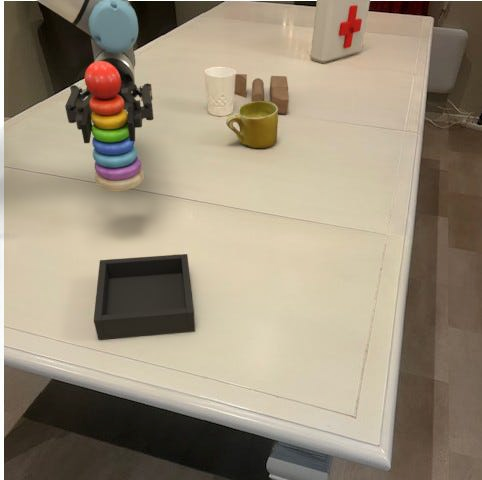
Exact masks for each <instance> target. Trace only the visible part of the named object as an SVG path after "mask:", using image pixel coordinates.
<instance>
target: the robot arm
mask: <svg viewBox="0 0 482 480" xmlns="http://www.w3.org/2000/svg"><path fill="white" fill-rule="evenodd" d="M36 1H37V2H38V3H39V4H41V5H43V6H45V7H46V8H47V9H49V10H51V11H53V12H54V13H55V14H57V15H58V16H60V17H62V18H63V19H64V20H67V22H69V23H70V24H73V25H74V26H76V27H77V28H78V29H80V30H81V31H83V32H84V33H86V34H87V35H88V36H90V40H91V48H92V54H93V60H94V61H93V63H94V62H98V61H104V62H108V63H110V64H111V65H113V66H114V67H115V68H116V69H117V71H118V72H119V75H120V78H121V87H120V90H119V92H118V93H117V94H118V95H120V96H121V97H122V98H123V100H124V108H123V109H124V110H125V111H126V112H127V114H128V130H129V137H130V141H134V142H136V129H137V128H138V129H139V128H142V127H143V120H144V119H145V120H146V121H153V120H154V118H155V117H154V110H153V99H154V98H153V90H152V89H153V88H152V84H151V83H144V84H143V85H140V86H139V87H138V86H137V84H136V83H135V82H136V76H135V67H136V56H135V51H134V47H133V46H134V45H135V44H136V42H137V39H138V36H139V22H138V16H137V13H136V11H135V9H134V8H133V7H132V5H131V4H130V1H129V0H36ZM69 89H70V94H69V96H68V99H67V101H66V103H65V106H64V108H65V112H66V117H67V120H68V123H69V124H75V123H76V128H77V130H79V131H80V130H81V134H82V139H83V143H84V144H90V142H91V137H92V136H91V135H92V131H91V128H92V125H93V122H92V119H91V115H92V113H93V111H92V110H91V108H90V99H91V98H92V97H93V96H94V95H92V94H91V93H90V91H89V90H88V88H87V86H86V88H82V87H79V86H78V85H76V84H72V85H70V86H69ZM137 97H138V98H140V99H139V100H137V99H136V98H137ZM141 102H142V106H141Z"/></svg>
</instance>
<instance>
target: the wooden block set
mask: <svg viewBox="0 0 482 480" xmlns="http://www.w3.org/2000/svg"><path fill="white" fill-rule="evenodd" d="M247 81H248V74H246V73H236V78H235V95H237V96H239V97H242V98H247V84H248V83H247ZM269 82H270V83H269V102H271V103H274V104H275V105H276V106H277V108H278V114H284V115H286V114H287V113H289V112H288V110H289V99H290V97H289V84H288V83H289V82H288V77H287V76H285V75H284V76H283V75H270V81H269ZM264 85H265V83H264V80H263V79H261V78H260V77H259V78H257V77H256V78H254V79H253V81H252V82H251V102H255V101H265V88H264V87H265V86H264Z"/></svg>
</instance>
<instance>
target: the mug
mask: <svg viewBox="0 0 482 480" xmlns="http://www.w3.org/2000/svg"><path fill="white" fill-rule="evenodd" d="M234 123H236V124H237V125H238V127H239V130H238V129H237V128H236V127H235V126H234ZM225 124H226V126H227V127H228V129H230V130H231V131H232V132H233V133H234V134H235V135H236V137H237V139H238V141H239V142H240V143H241V145H244V146H248V147H250V148H253V149H268V148H271V147H273V146H274V145H275V144H276V142H277V140H278V127H279V126H278V124H279V113H278V108H277V106H276V105H275V104H274V103H271V102H270V101H266V100H264V101H255V102H253V101H249V102H247V103H244V104H242V105H241V106H239V108H238V110H237V114H230V115H228V117H227V119H226V122H225Z"/></svg>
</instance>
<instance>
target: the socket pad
mask: <svg viewBox="0 0 482 480" xmlns="http://www.w3.org/2000/svg"><path fill="white" fill-rule="evenodd" d="M97 275H98V276H97V285H96V294H95V305H94V313H93V325H94V328H95V332H96V336H97V339H98V341H103V340H116V339H126V338H127V339H128V338H137V337H147V336H158V335H159V336H160V335H170V334H181V333H192V332H196V324H195V323H196V322H195V310H194V301H193V293H192V284H191V276H190V275H191V274H190V265H189V258H188V253H182V254H168V255H154V256H140V257H139V256H138V257H126V258H125V257H124V258H109V259H100V260H99V264H98V274H97Z"/></svg>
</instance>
